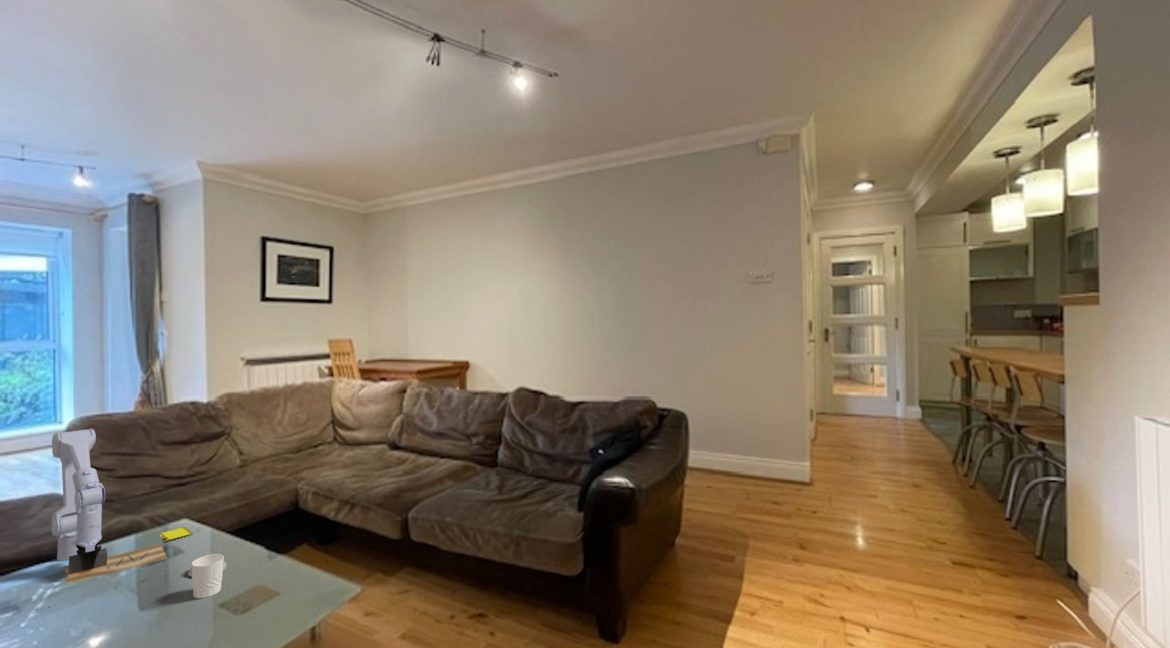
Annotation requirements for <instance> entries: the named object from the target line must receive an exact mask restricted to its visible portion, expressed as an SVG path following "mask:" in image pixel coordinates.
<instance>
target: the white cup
mask: <svg viewBox="0 0 1170 648" xmlns="http://www.w3.org/2000/svg"><path fill="white" fill-rule="evenodd" d="M212 554H213V555H211V554H210V555H209V554H206V555H207V556H206V555H202V556H203V557H202V556H200V558H199V557H198V558H196V559H195V560H193V561H192V562H191V568H192V578H191V582H192V596H193V598H194V599H206V598H210V597H213V596H214V595H216V594H219V592H220V591H222V580H223V574H224V573H223V572H224V570H223V563H224V560H225V556H224V555H223V554H221V553H212ZM220 554H221V555H220Z"/></svg>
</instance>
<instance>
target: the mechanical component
mask: <svg viewBox="0 0 1170 648" xmlns="http://www.w3.org/2000/svg"><path fill="white" fill-rule="evenodd" d="M213 554H214V553H212V554H206V555H205V556H207V555H213ZM219 554H220V555H222V554H221V553H219ZM203 556H204V555H202V556H200V557H203ZM200 557H198V558H200ZM226 568H227V562H226V561H224V563H223V571H224V570H225V569H226ZM187 573H188V574H187V575H188V577H189V576H191V577H192V567H191V568H189V570H188V572H187ZM191 577H190V578H191Z"/></svg>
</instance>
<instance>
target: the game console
mask: <svg viewBox="0 0 1170 648" xmlns="http://www.w3.org/2000/svg"><path fill="white" fill-rule="evenodd" d="M192 533H193V532H192V531H191V530H190V529H188V528H187V527H184V526H181V527H178V528H173V529H169V530H166V531H162V532H158V533H153V534H152V536H153V535H159V537H160V538H161V540H162V542H163V544H166V543H169V541H170V542H172V541H176V539H177V540H180V538H181V539H184V538H187V537H186V536H188V537H190V536H189V535H191V534H192ZM193 534H194V533H193ZM148 536H149V537H150V536H151V535H148ZM191 536H192V535H191ZM183 537H184V538H183Z"/></svg>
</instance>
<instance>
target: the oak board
mask: <svg viewBox="0 0 1170 648" xmlns="http://www.w3.org/2000/svg"><path fill="white" fill-rule="evenodd" d="M168 559H169V558H168V555H167V554H166V552H165V550H164V548H163V547H162V544H161V543H159V544H154V545H151V546H146V547H142V548H137V549H133V550H129V551H125V552H121V553H117V554H113V555H109V556H108V555H107V564H108V568H104V569H100V570H96V571H92V572H88V573H84V574H80V575H77V576H73V577H69V578H68V569H69V565H66V566H64V571H65V572H64V573H65V583H66V585H71V584H74V583H78V582H83V581H86V580H90V579H95V578H97V577H98V578H99V577H102V576H106V575H110V574H114V573H117V572H121V571H125V570H128V569H133V568H135V567H136V568H137V567H141V566H145V565H148V564H149V565H150V564H152V563H153V564H154V563H157V562H160V561H163V560H164V561H165V560H168Z"/></svg>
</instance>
